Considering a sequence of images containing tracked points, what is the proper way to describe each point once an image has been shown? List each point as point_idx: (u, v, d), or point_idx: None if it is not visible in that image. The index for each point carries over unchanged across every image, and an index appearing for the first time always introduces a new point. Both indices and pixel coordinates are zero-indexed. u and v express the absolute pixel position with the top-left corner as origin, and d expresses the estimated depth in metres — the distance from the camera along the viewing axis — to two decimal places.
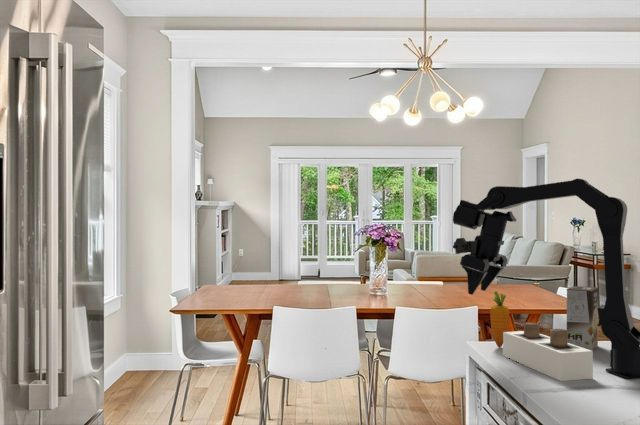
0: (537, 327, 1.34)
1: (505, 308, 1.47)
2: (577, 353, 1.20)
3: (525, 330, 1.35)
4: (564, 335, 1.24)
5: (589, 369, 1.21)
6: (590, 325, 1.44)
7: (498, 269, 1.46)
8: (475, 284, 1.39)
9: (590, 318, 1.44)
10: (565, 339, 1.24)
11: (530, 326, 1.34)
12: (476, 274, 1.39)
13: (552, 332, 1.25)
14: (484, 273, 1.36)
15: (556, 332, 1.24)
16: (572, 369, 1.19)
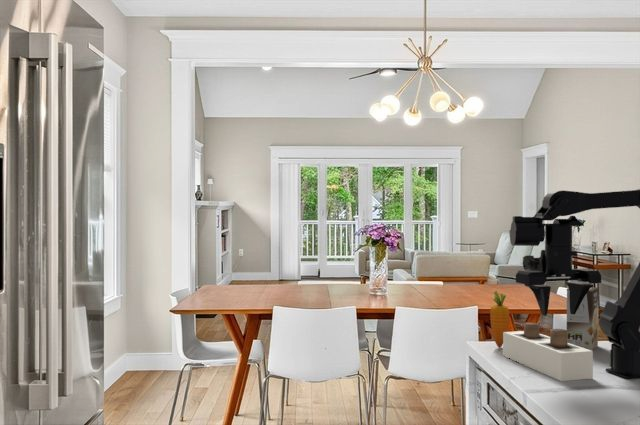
0: (537, 327, 1.34)
1: (505, 308, 1.47)
2: (577, 353, 1.20)
3: (525, 330, 1.35)
4: (564, 335, 1.24)
5: (589, 369, 1.21)
6: (590, 325, 1.44)
7: (582, 286, 1.24)
8: (543, 302, 1.24)
9: (590, 318, 1.44)
10: (565, 339, 1.24)
11: (530, 326, 1.34)
12: (541, 291, 1.24)
13: (552, 332, 1.25)
14: (542, 287, 1.21)
15: (556, 332, 1.24)
16: (572, 369, 1.19)
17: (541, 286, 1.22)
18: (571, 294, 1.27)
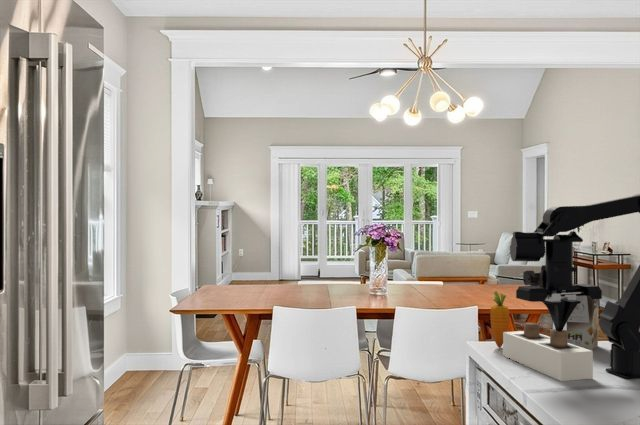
0: (537, 327, 1.34)
1: (505, 308, 1.47)
2: (577, 353, 1.20)
3: (525, 330, 1.35)
4: (564, 335, 1.24)
5: (589, 369, 1.21)
6: (590, 325, 1.44)
7: (569, 303, 1.23)
8: (557, 317, 1.24)
9: (590, 318, 1.44)
10: (565, 339, 1.24)
11: (530, 326, 1.34)
12: (555, 306, 1.25)
13: (552, 332, 1.25)
14: (556, 303, 1.22)
15: (556, 332, 1.24)
16: (572, 369, 1.19)
17: (555, 302, 1.23)
18: None
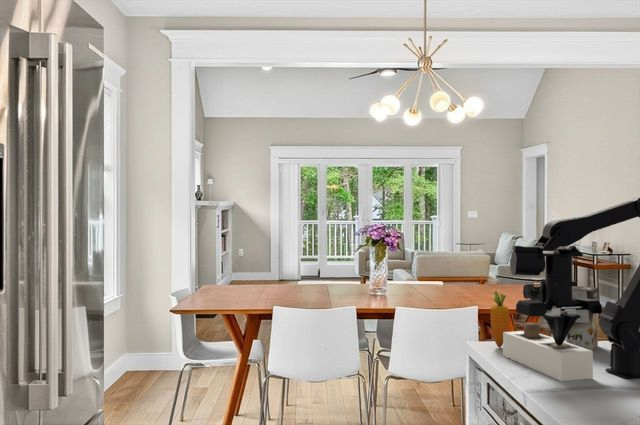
0: (537, 327, 1.34)
1: (505, 308, 1.47)
2: (577, 353, 1.20)
3: (525, 330, 1.35)
4: None
5: (589, 369, 1.21)
6: (590, 325, 1.44)
7: (568, 317, 1.23)
8: (557, 332, 1.24)
9: (590, 318, 1.44)
10: None
11: (530, 326, 1.34)
12: (555, 321, 1.25)
13: None
14: (556, 318, 1.22)
15: (556, 347, 1.24)
16: (572, 369, 1.19)
17: (555, 316, 1.23)
18: None
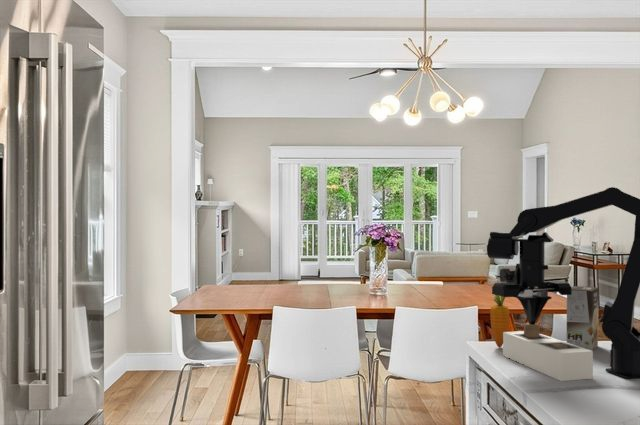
0: (537, 327, 1.34)
1: (505, 308, 1.47)
2: (577, 353, 1.20)
3: (525, 330, 1.35)
4: None
5: (589, 369, 1.21)
6: (590, 325, 1.44)
7: (540, 298, 1.33)
8: (530, 312, 1.34)
9: (590, 318, 1.44)
10: None
11: (530, 326, 1.34)
12: (528, 302, 1.34)
13: None
14: (529, 298, 1.32)
15: (556, 347, 1.24)
16: (572, 369, 1.19)
17: (528, 297, 1.32)
18: None
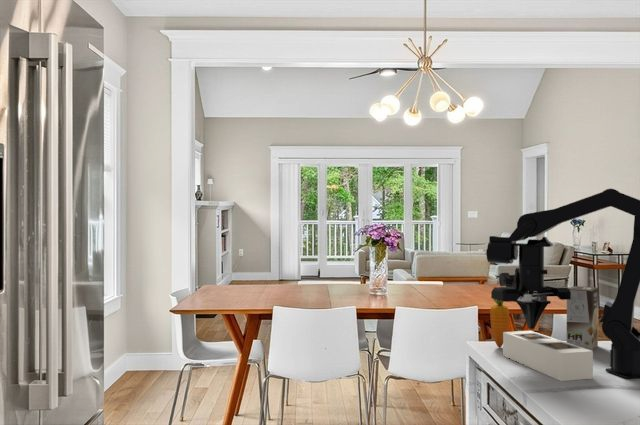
0: None
1: (505, 308, 1.47)
2: (577, 353, 1.20)
3: None
4: None
5: (589, 369, 1.21)
6: (590, 325, 1.44)
7: (539, 303, 1.33)
8: (529, 316, 1.34)
9: (590, 318, 1.44)
10: None
11: (530, 338, 1.34)
12: None
13: None
14: (528, 303, 1.32)
15: (556, 347, 1.24)
16: (572, 369, 1.19)
17: (527, 302, 1.32)
18: None
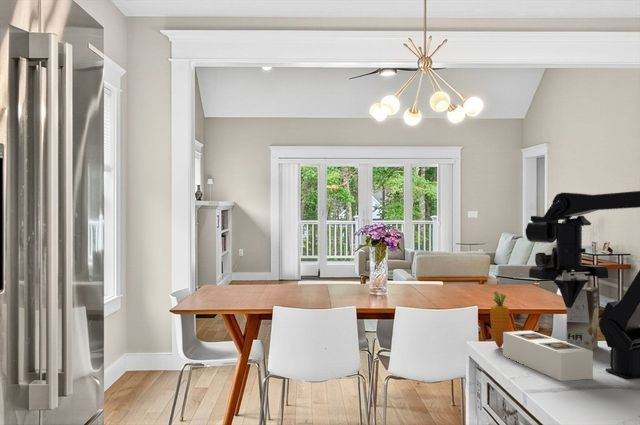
0: None
1: (505, 308, 1.47)
2: (577, 353, 1.20)
3: None
4: None
5: (589, 369, 1.21)
6: (590, 325, 1.44)
7: (578, 281, 1.33)
8: (567, 295, 1.34)
9: (590, 318, 1.44)
10: None
11: (530, 338, 1.34)
12: (565, 285, 1.35)
13: None
14: (567, 281, 1.32)
15: (556, 347, 1.24)
16: (572, 369, 1.19)
17: (566, 280, 1.33)
18: None
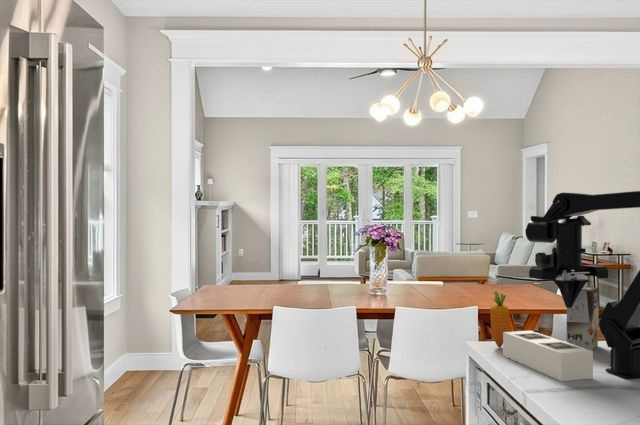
0: None
1: (505, 308, 1.47)
2: (577, 353, 1.20)
3: None
4: None
5: (589, 369, 1.21)
6: (590, 325, 1.44)
7: (578, 281, 1.33)
8: (567, 295, 1.34)
9: (590, 318, 1.44)
10: None
11: (530, 338, 1.34)
12: (565, 285, 1.35)
13: None
14: (567, 281, 1.32)
15: (556, 347, 1.24)
16: (572, 369, 1.19)
17: (566, 280, 1.33)
18: None
